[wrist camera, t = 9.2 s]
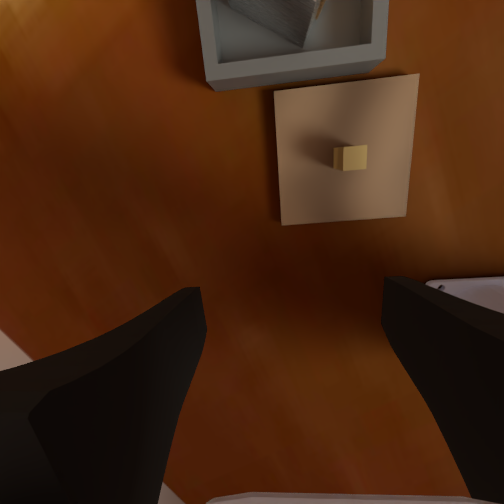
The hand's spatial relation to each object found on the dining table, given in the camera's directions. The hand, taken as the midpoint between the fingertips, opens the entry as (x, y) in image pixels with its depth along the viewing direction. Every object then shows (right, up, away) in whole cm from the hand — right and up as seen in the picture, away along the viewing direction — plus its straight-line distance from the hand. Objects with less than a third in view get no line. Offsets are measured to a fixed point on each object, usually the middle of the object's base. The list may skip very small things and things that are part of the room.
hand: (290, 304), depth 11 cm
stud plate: (+4, +8, +7) cm, 11 cm away
